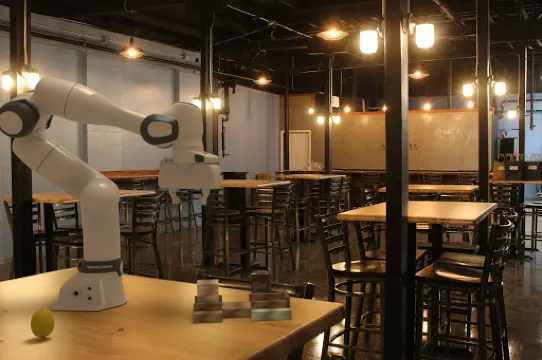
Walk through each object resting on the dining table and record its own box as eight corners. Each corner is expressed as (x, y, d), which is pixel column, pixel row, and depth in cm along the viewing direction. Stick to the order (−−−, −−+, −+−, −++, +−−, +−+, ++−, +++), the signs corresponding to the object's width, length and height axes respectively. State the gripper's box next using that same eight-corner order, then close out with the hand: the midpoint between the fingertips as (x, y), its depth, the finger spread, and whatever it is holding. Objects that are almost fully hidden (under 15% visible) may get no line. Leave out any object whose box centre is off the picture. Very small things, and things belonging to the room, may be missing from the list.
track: (193, 323, 156) (192, 303, 155) (195, 308, 171) (195, 290, 171) (291, 319, 158) (291, 299, 158) (284, 304, 174) (284, 286, 174)
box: (271, 292, 191) (271, 270, 191) (269, 296, 185) (269, 274, 185) (253, 292, 192) (253, 270, 191) (251, 296, 186) (250, 274, 185)
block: (197, 309, 161) (196, 284, 160) (198, 304, 167) (197, 280, 166) (218, 308, 161) (218, 283, 161) (218, 303, 167) (218, 279, 167)
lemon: (35, 336, 146) (34, 305, 145) (57, 335, 146) (56, 304, 146) (27, 343, 140) (27, 311, 140) (51, 342, 141) (50, 310, 140)
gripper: (153, 157, 170) (154, 204, 171) (212, 156, 161) (212, 205, 162) (166, 158, 176) (166, 202, 176) (223, 156, 167) (224, 204, 168)
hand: (189, 204), depth 169 cm, fingers open, 8 cm apart
